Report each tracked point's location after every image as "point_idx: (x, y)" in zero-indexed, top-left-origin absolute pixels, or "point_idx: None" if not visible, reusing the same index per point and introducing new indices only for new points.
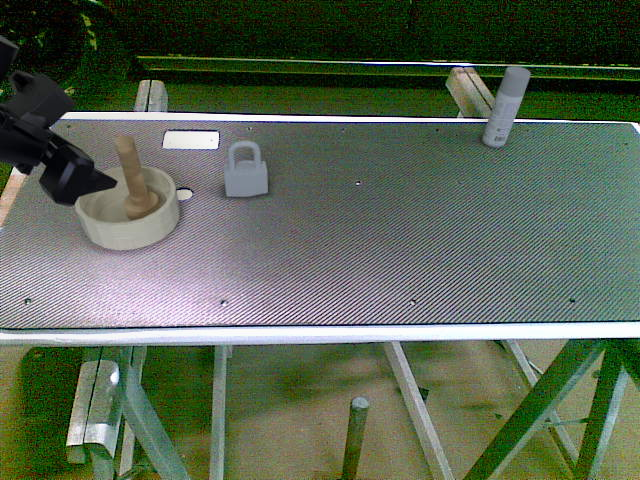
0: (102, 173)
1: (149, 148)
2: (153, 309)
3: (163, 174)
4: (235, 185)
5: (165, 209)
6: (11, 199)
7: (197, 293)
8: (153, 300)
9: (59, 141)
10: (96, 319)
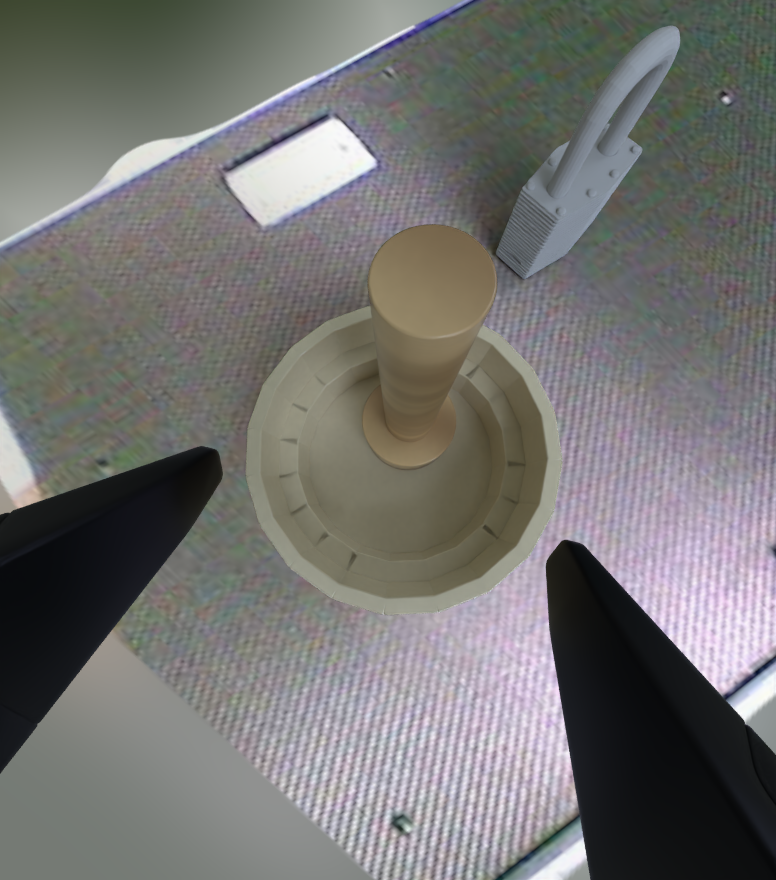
0: (742, 725)
1: (234, 244)
2: None
3: None
4: (560, 240)
5: (556, 431)
6: None
7: (710, 563)
8: None
9: (42, 574)
10: None
